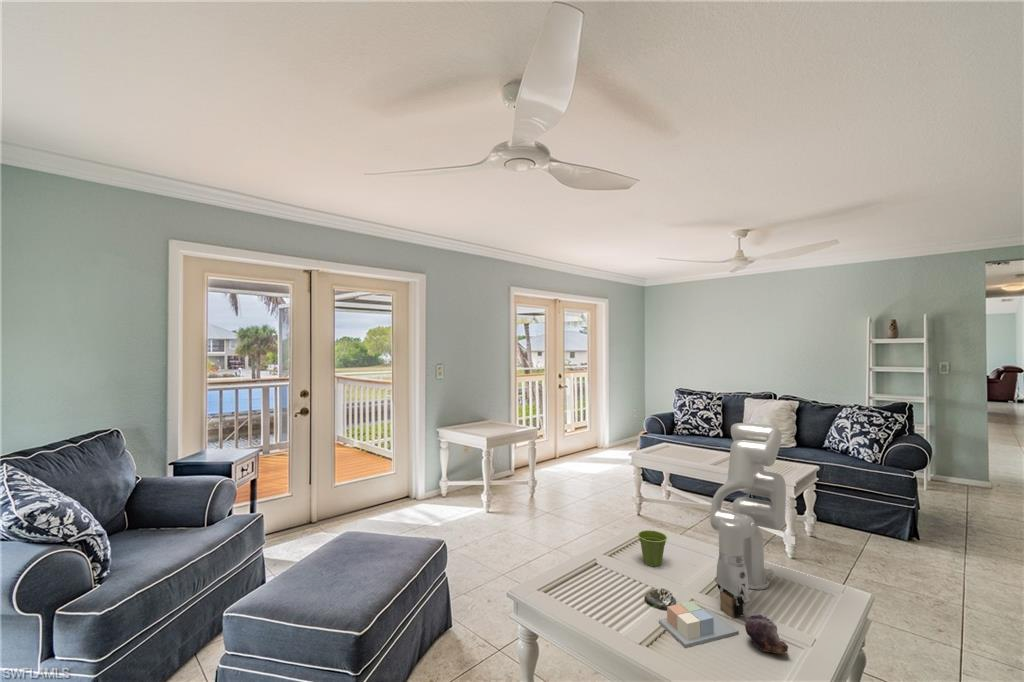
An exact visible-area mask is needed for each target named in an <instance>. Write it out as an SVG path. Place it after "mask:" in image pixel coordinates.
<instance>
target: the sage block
mask: <svg viewBox="0 0 1024 682" xmlns="http://www.w3.org/2000/svg"><path fill="white" fill-rule="evenodd" d="M679 604H680V605H682V606H683V607H684V608H685V609H686V610H688V611H689V612H693V611H697V610H702V609H703V608H702V607H700V606H699V605H698V604H697V603H695V602H694V601H692V600H691V601H687V602H686V601H685V602H682V603H679Z"/></svg>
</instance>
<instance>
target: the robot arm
mask: <svg viewBox="0 0 1024 682" xmlns="http://www.w3.org/2000/svg"><path fill="white" fill-rule="evenodd" d="M730 435H731V439H732V440H733V442H732V443H731V445H730V450H729V451H730V452H729V461H728V471H727V472H728V473H727V479H726V480H727V481H726V482H725V483H723V485H721V486H720V487H719V488H718V489H717V490H716V491H715V493H714V495H713V498H712V499H711V507H710V517H709V519H710V522H709V523H710V526H711V527H712V529H714V531H716V532H718V557H717V558H718V559H717V564H716V576H715V577H714V581H715V583H716V585H717V588H718V590H719V593H720V592H724V591H728V592H730V593H731V594H733V595H734V599H735V604H734V616H735V617H734V618H738V616H739V617H741V616H742V615H743V606H744V605H745V604H746V603H748V602H751V598H750V596H749V593H750V592H749V590H751V589H752V590H765V589H767V588H768V587H769V586H770V581H769V580H768V578H767V577H768V576H771V575H774V570H773V569H772V568H767V569H766V568H765V554H764V553H765V548H764V547H765V545H764V544H765V543H764V542H765V540H764V535H763V533H762V531H761V529H760V528H759V527H761V528H765V529H769V530H770V529H771V530H775V531H780V530H783V529H784V527H785V524H786V506H787V505H786V504H787V503H786V500H787V499H786V498H787V497H786V496H787V488H786V487H787V485H786V481H785V479H784V477H783V475H781V474H779V473H777V472H771V471H767V470H766V471H765V467H772V466H773V465H774V464H775V463H776V460H777V457H778V454H779V450H780V447H781V443H782V432H781V430H780V429H779V427H777V426H775V425H768V424H756V423H749V422H748V423H746V422H738V423H737V422H736V423H733V424H732V425H731V427H730ZM739 491H740V492H742V493H743V494H744V493H745V494H748V495H752V496H757V497H761V498H763V497H764V498H768V499H770V501H768V500H767V501H766V500H762V499H761V500H760V499H758V498H751V497H746V496H744V497H743V496H742V497H737V498H735V499H734V500H733V502H732V511H731V510H730V511H729V510H724V509H722V504H723V501H724V499H725V498H726V497H727V496H729V495H730V494H733V493H735V492H739ZM738 597H740V600H739V601H738ZM743 616H744V615H743Z"/></svg>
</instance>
